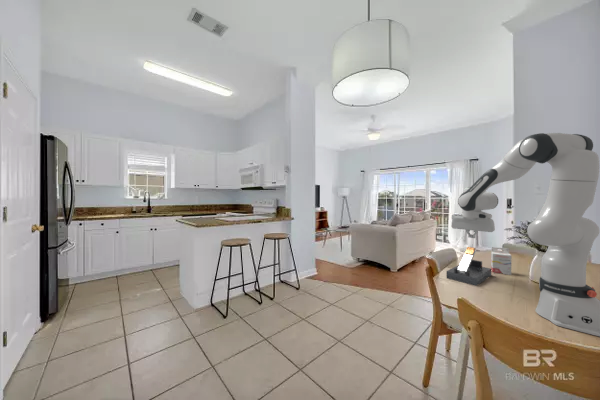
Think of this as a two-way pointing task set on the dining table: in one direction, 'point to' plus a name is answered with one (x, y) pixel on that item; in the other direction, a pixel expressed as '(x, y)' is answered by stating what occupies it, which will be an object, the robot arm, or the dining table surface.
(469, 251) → the clamp lever
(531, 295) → the dining table surface
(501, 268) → the ink cartridge box
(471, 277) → the mounting block
